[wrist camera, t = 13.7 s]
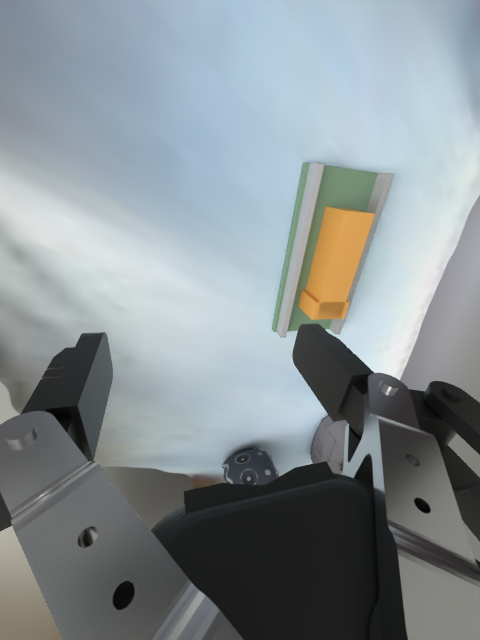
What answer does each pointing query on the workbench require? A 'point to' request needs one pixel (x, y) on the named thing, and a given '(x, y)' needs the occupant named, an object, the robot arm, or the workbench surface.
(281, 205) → the workbench surface
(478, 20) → the workbench surface
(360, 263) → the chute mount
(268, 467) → the dark patterned drum
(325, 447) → the soft grey pack
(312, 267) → the chute
